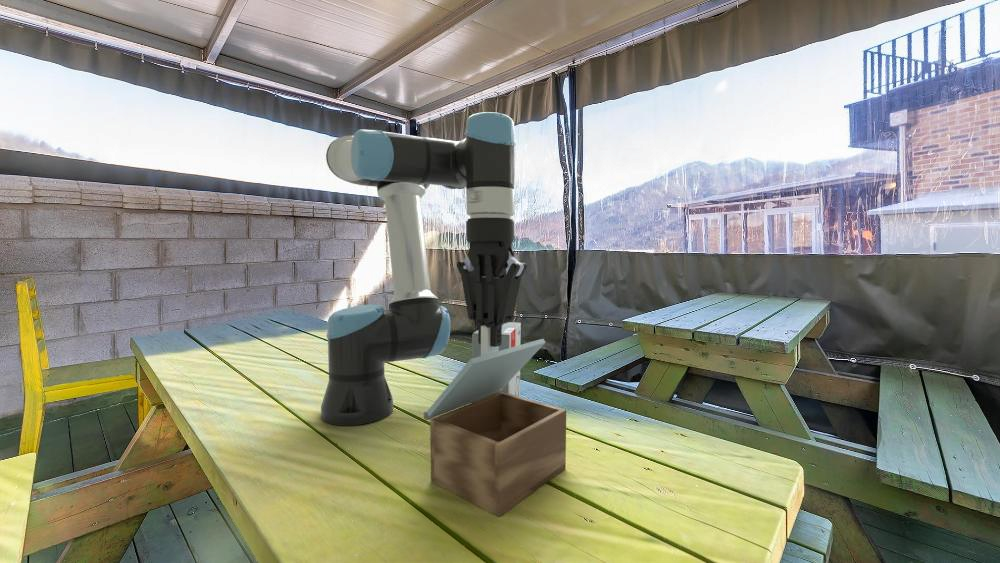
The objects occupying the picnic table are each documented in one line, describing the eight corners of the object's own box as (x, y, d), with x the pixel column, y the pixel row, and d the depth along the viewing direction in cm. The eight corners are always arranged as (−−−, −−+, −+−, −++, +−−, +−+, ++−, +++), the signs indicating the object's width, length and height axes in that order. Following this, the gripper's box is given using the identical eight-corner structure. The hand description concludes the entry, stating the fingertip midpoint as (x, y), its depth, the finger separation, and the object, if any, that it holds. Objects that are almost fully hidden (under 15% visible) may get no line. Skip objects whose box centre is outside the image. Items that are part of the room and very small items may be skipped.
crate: (430, 481, 68) (430, 419, 67) (500, 443, 81) (500, 391, 80) (499, 517, 59) (499, 446, 58) (565, 468, 72) (566, 409, 71)
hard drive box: (508, 436, 84) (508, 335, 83) (470, 433, 86) (470, 333, 84) (520, 407, 99) (521, 321, 98) (488, 405, 101) (488, 320, 99)
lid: (426, 421, 67) (422, 415, 68) (500, 392, 81) (496, 387, 81) (474, 364, 60) (469, 357, 60) (546, 343, 73) (542, 337, 74)
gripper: (444, 217, 69) (445, 363, 71) (507, 214, 61) (506, 378, 63) (476, 220, 75) (476, 354, 77) (537, 217, 67) (536, 367, 69)
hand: (489, 365), depth 70 cm, fingers closed
